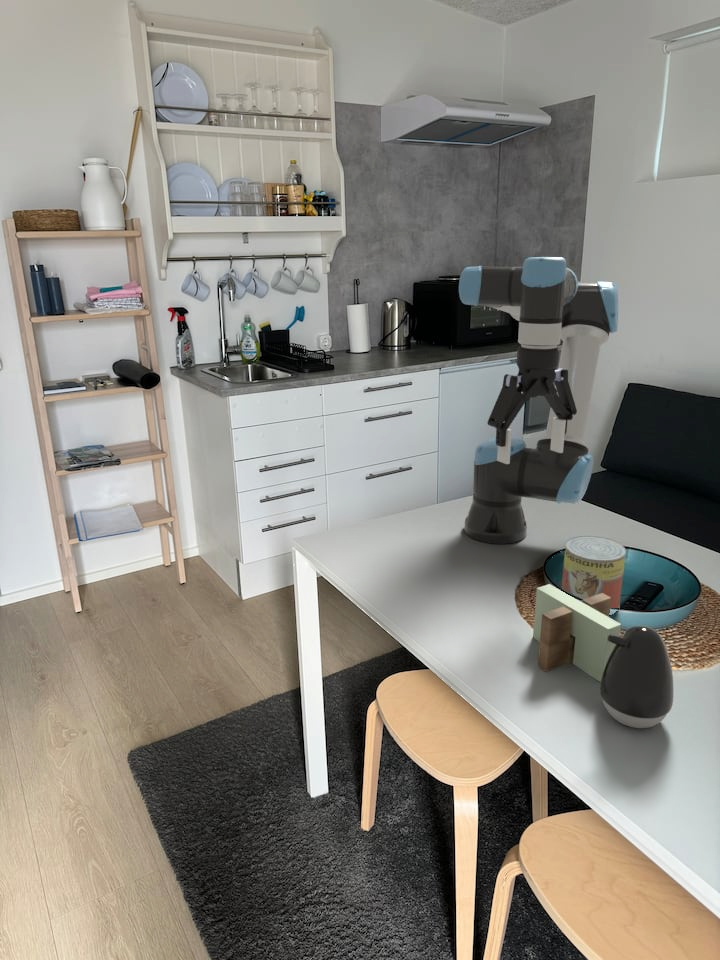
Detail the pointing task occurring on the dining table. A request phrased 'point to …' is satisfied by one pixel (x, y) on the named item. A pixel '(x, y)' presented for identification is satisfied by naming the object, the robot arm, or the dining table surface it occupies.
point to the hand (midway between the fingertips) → (530, 456)
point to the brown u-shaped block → (563, 633)
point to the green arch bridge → (580, 629)
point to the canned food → (594, 567)
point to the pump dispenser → (638, 678)
